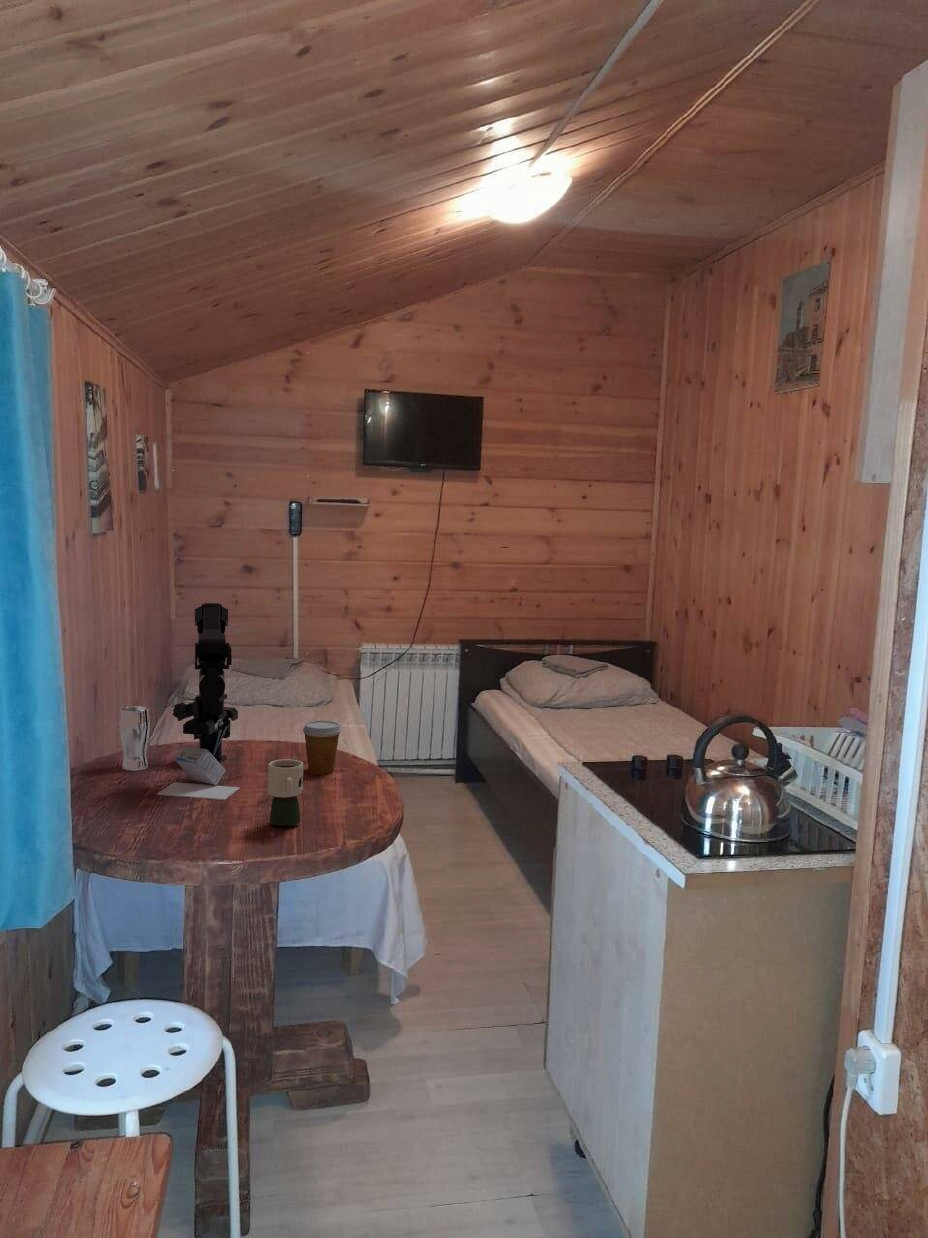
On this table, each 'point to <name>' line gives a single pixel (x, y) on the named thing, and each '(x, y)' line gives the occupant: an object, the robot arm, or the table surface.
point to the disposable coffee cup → (321, 745)
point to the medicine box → (200, 765)
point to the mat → (198, 791)
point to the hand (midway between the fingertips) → (211, 756)
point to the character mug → (285, 791)
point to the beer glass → (134, 736)
